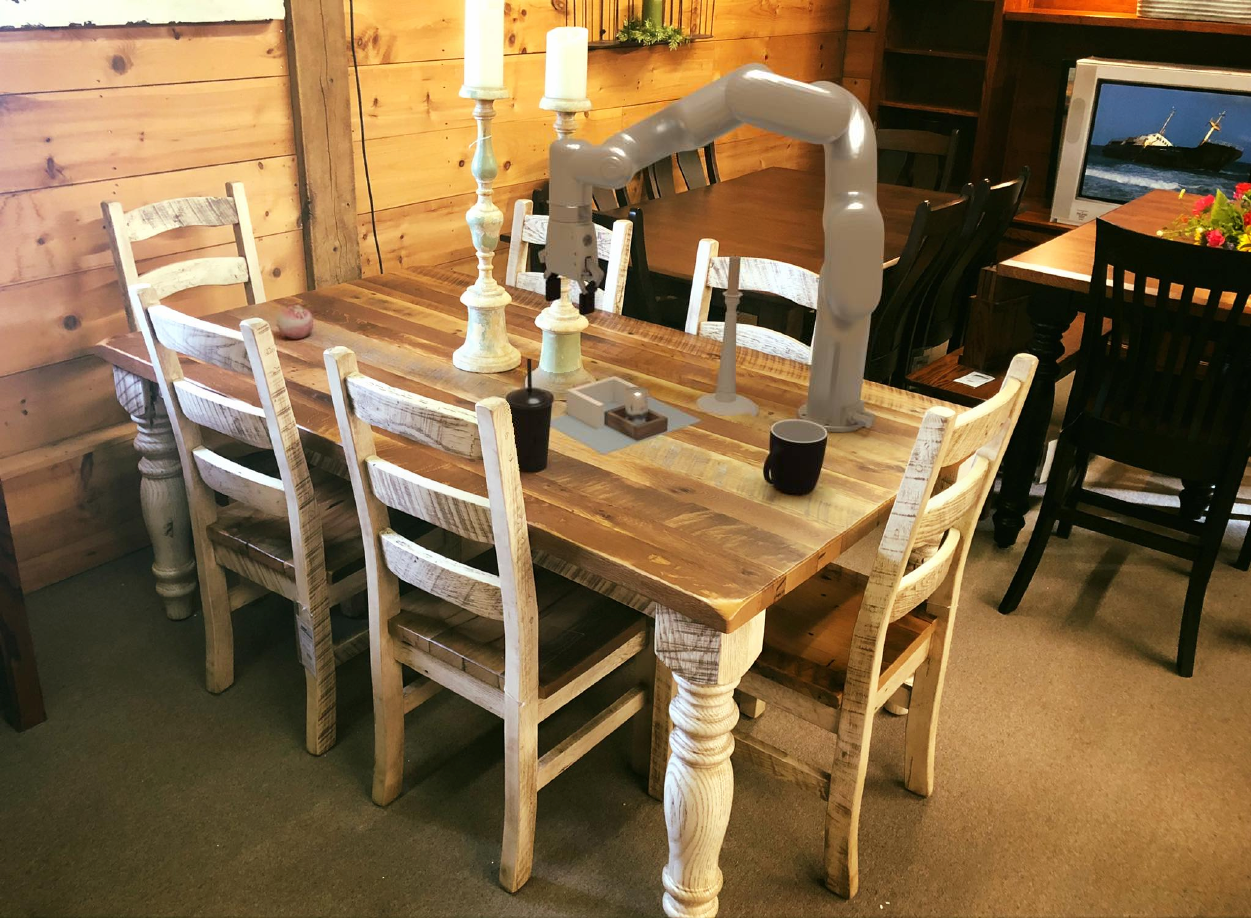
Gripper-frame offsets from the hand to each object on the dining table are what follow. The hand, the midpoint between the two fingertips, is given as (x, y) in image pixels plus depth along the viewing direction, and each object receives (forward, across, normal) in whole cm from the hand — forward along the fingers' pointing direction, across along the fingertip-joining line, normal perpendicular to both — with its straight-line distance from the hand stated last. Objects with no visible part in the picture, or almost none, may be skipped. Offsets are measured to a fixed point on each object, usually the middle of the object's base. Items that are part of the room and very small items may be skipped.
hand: (569, 306), depth 192 cm
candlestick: (+19, -21, -20) cm, 35 cm away
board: (+19, -15, 0) cm, 24 cm away
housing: (+17, -9, 0) cm, 20 cm away
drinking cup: (+19, -20, +24) cm, 36 cm away
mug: (+19, -50, -5) cm, 54 cm away
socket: (+17, -19, 0) cm, 26 cm away
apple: (+20, +66, +23) cm, 73 cm away
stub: (+17, -19, 0) cm, 26 cm away
